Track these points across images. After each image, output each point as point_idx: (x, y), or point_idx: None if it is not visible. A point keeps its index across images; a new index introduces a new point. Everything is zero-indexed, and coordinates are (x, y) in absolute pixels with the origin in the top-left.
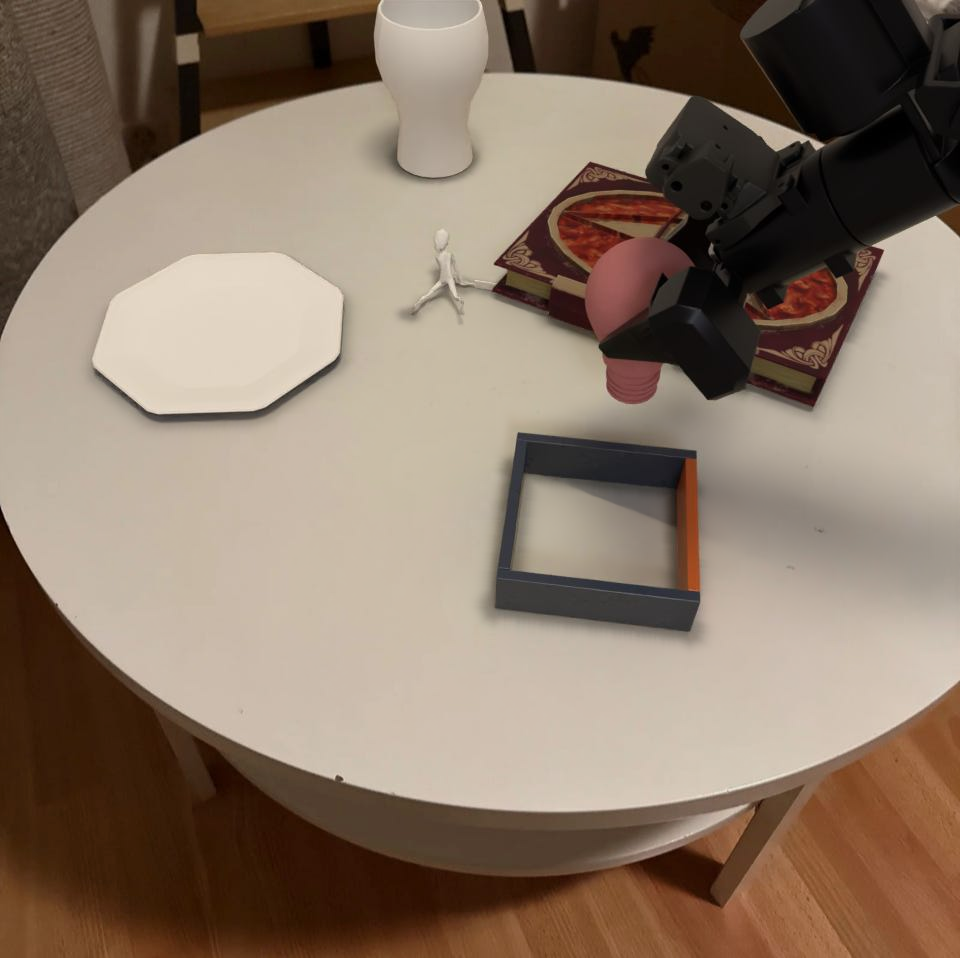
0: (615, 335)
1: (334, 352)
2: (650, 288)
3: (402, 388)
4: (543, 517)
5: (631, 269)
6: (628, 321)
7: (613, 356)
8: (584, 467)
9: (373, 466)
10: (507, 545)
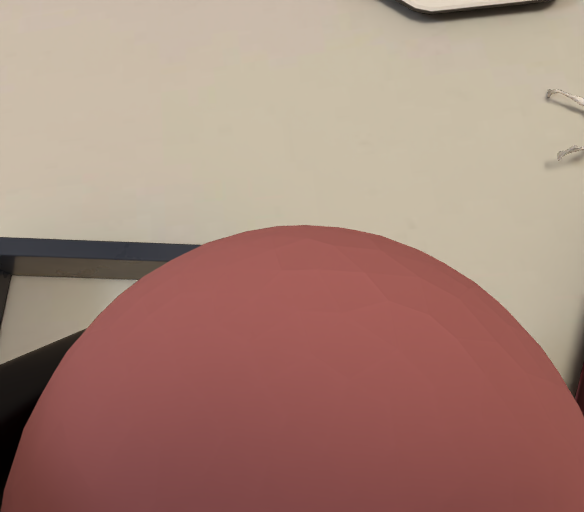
0: (16, 359)
1: (427, 3)
2: None
3: (388, 103)
4: None
5: (135, 403)
6: (3, 409)
7: None
8: None
9: (238, 87)
10: (11, 246)
